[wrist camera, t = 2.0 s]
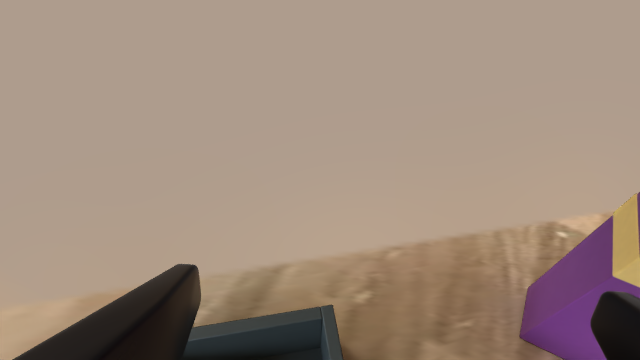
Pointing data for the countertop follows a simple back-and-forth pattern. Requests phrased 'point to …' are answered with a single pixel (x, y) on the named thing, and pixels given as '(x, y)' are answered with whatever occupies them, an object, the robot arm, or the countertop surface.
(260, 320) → the waste bin
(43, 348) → the robot arm
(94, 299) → the countertop surface
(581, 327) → the chocolate carton
